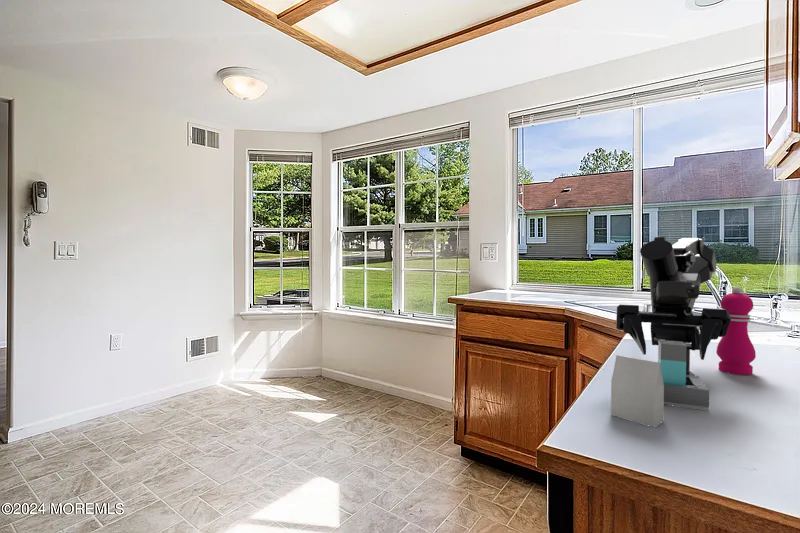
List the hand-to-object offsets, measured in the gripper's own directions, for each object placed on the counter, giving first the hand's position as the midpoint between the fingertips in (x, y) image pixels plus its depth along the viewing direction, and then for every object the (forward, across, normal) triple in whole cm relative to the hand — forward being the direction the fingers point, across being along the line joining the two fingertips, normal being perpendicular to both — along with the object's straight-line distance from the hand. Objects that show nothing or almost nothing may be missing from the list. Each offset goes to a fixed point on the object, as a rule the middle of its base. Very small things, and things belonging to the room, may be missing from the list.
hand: (673, 355), depth 79 cm
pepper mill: (-15, +16, +27) cm, 35 cm away
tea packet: (+15, -7, -3) cm, 17 cm away
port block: (+5, 0, +7) cm, 8 cm away
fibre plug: (+4, 0, +6) cm, 8 cm away
